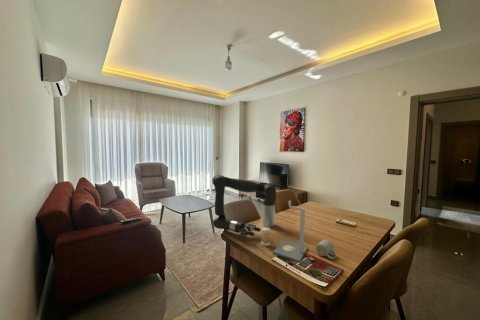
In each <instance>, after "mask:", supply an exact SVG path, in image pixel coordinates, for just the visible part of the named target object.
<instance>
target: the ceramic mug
mask: <svg viewBox="0 0 480 320" xmlns="http://www.w3.org/2000/svg"><path fill="white" fill-rule="evenodd" d="M315 251H316V254H318V255H319V256H321V257H327V258H328V259H330V260H335V259H336V257H337V253H336V252H335V251H334V245H333V243H332V242H331V241H330V240H328V239H323V240H321V241H320V242H319V243H317V244H316V246H315ZM330 254H333V256H334V257H333V256H331V255H330Z"/></svg>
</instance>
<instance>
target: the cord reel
mask: <svg viewBox="0 0 480 320" xmlns="http://www.w3.org/2000/svg"><path fill="white" fill-rule="evenodd" d="M260 231H261V241H260V243H261V244H260V245H262V246H264V247H268V246H271V227H266V226H262V227H261V228H260Z"/></svg>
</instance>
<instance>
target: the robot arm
mask: <svg viewBox="0 0 480 320" xmlns="http://www.w3.org/2000/svg"><path fill="white" fill-rule="evenodd" d="M211 182H212V184H213V186H214V190H215V201H214V214H215V215H216V216H218V217H217V218H214V219H213V221H212V226H213V227H214V228H215V229H220V230H229V231H232V232H234V233H236V234H238V235H240V236H244V237H247V236H250V237H254V236H255V232H253V231H256V232H259V233H260V232H261V228H260V227H257V225H255V224H250V223H249V224H248V225H246V223H245V222H241V221H237V220H232V219H227V218H226V214H225V189H226V188H230V189H233V190H236V191H237V192H241V193H242V192H243V193H260V194H263V195H264V196H265V199H264V200H263V202H262V226H263V225H264V226H263V227H269V228H272V227H274V226H275V213H276V212H275V210H276V209H275V206H276V205H275V203H276V200H277V189H276V187H275V186H274V185H271V184H268V183H258V182H255V181H251V180H247V179H240V178H231V177H227V176H224V175H222V174H216V175H215V176H213V177H212V180H211Z"/></svg>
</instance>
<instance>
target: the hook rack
mask: <svg viewBox="0 0 480 320" xmlns="http://www.w3.org/2000/svg"><path fill="white" fill-rule="evenodd" d="M287 206H288V207H289V209H291V210H293V209H294V210H297V211H300V215H299V216H300V219H299V220H300V221H299V223H300V224H299V243H296V242H292V241H288V240H282V242H280V243H279V245H277V247H276V248H275V249H274V250H273V251H272V254H273V255H275V256H279V257H283V258H285V259H289V260H292V261H294V262H296V263H297V262H298V263H301V260H302V259H303V258H304V255H306V253H307V251H308V250H309V246H306V245H305V222H306V208H305V207H300V206H295V205H292V201H291V200H288V205H287Z"/></svg>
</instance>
